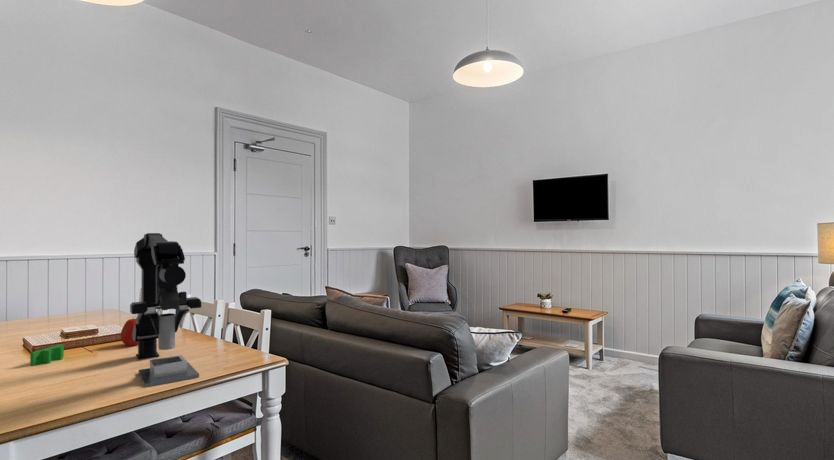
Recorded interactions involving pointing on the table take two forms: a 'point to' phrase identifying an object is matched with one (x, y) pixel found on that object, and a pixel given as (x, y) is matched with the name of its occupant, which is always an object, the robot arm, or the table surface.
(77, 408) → the table surface
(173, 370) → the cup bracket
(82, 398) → the table surface
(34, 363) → the pipe clamp
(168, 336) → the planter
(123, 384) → the table surface
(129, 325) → the apple
